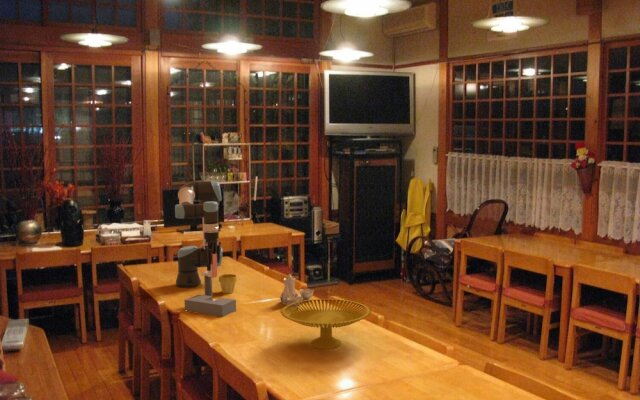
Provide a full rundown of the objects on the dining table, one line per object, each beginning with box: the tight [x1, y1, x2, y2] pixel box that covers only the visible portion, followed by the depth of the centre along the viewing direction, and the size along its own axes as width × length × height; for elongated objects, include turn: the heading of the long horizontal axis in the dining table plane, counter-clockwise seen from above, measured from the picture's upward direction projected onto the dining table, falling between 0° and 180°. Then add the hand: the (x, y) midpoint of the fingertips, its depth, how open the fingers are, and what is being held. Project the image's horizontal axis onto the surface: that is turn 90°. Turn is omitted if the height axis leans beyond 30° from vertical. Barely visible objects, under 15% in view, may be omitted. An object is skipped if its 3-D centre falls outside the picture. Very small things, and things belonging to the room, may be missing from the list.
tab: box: [211, 253, 218, 279], centre depth 341 cm, size 4×4×12 cm
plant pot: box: [218, 273, 238, 295], centre depth 379 cm, size 10×10×10 cm
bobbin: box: [201, 270, 217, 301], centre depth 356 cm, size 10×10×17 cm
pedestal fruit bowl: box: [279, 298, 372, 350], centre depth 289 cm, size 40×40×15 cm
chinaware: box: [279, 273, 315, 310], centre depth 355 cm, size 28×17×17 cm, turn 166°
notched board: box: [184, 294, 237, 318], centre depth 341 cm, size 24×12×6 cm, turn 63°
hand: (212, 275), depth 342 cm, fingers closed on tab, 3 cm apart
